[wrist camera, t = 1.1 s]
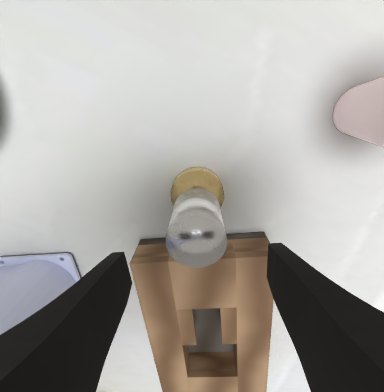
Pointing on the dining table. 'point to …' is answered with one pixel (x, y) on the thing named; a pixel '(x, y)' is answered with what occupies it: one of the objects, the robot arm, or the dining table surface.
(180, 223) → the peg
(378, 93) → the smoothie
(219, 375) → the keyhole board
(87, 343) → the robot arm
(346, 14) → the dining table surface
